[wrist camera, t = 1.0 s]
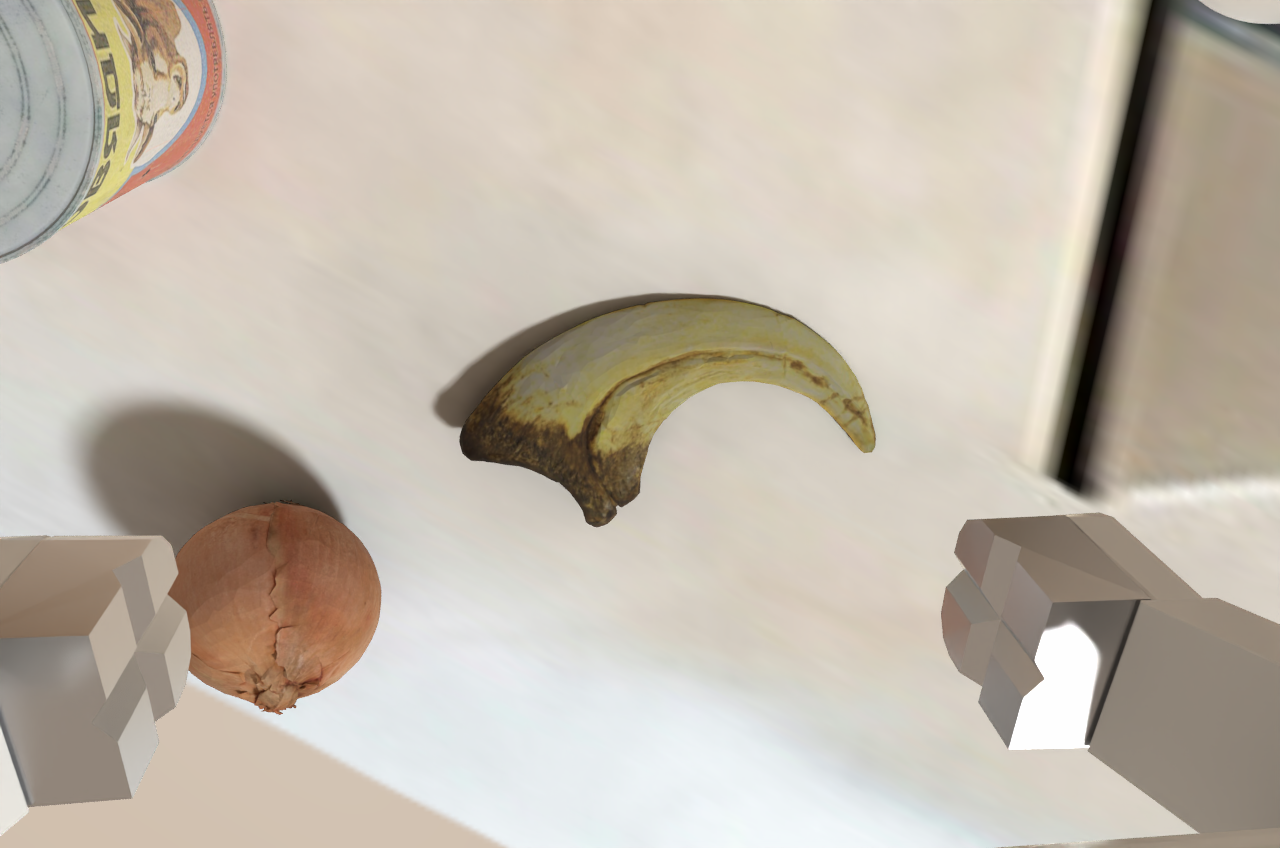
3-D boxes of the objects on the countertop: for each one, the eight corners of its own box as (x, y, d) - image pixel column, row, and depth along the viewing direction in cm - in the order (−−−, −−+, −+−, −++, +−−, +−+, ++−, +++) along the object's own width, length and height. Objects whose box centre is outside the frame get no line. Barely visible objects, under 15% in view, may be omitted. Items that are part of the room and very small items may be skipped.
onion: (359, 561, 51) (376, 736, 45) (168, 571, 47) (159, 764, 41) (383, 453, 44) (407, 641, 38) (163, 454, 40) (151, 663, 34)
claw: (500, 524, 47) (499, 561, 44) (441, 344, 43) (435, 371, 40) (867, 433, 48) (891, 464, 45) (847, 246, 43) (872, 265, 40)
